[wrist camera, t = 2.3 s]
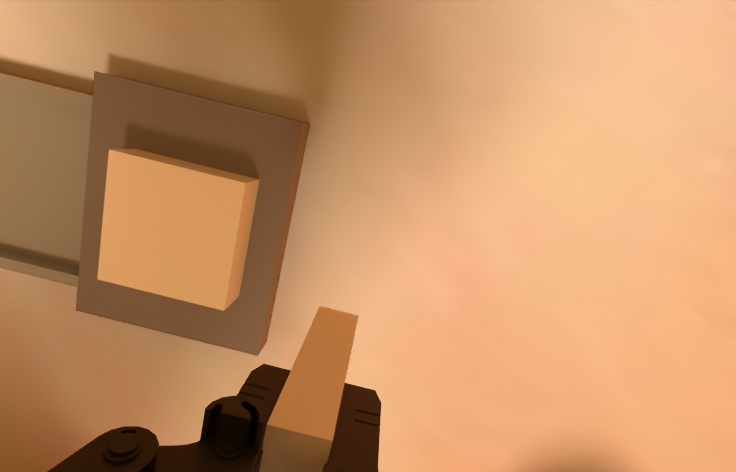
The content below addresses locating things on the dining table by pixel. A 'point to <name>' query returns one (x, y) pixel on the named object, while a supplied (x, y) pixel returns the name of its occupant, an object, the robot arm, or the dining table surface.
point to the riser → (208, 148)
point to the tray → (42, 177)
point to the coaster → (175, 227)
